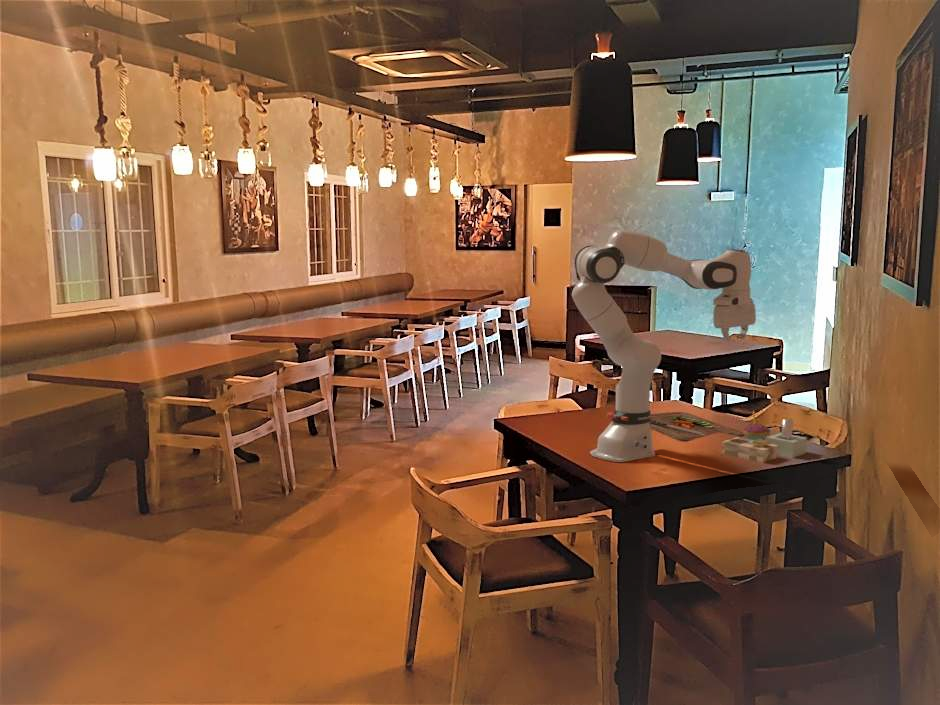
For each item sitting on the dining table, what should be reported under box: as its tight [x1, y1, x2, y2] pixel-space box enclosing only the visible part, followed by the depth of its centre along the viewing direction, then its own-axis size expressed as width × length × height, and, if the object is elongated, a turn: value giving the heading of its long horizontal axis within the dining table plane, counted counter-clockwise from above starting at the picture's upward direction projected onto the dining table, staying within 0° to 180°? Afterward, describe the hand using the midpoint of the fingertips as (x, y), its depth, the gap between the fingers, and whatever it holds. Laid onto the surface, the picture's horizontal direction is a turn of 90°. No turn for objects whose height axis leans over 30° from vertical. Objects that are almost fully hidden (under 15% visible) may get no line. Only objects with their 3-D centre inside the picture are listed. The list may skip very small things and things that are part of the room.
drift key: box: [752, 439, 770, 447], centre depth 237 cm, size 4×4×6 cm
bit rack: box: [765, 432, 808, 459], centre depth 243 cm, size 9×9×6 cm
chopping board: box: [649, 411, 744, 443], centre depth 284 cm, size 45×27×3 cm, turn 18°
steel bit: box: [781, 418, 794, 441], centre depth 242 cm, size 3×3×11 cm
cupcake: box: [743, 408, 771, 440], centre depth 257 cm, size 9×8×12 cm
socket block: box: [721, 436, 779, 464], centre depth 240 cm, size 9×14×5 cm, turn 39°
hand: (734, 340), depth 248 cm, fingers open, 8 cm apart
